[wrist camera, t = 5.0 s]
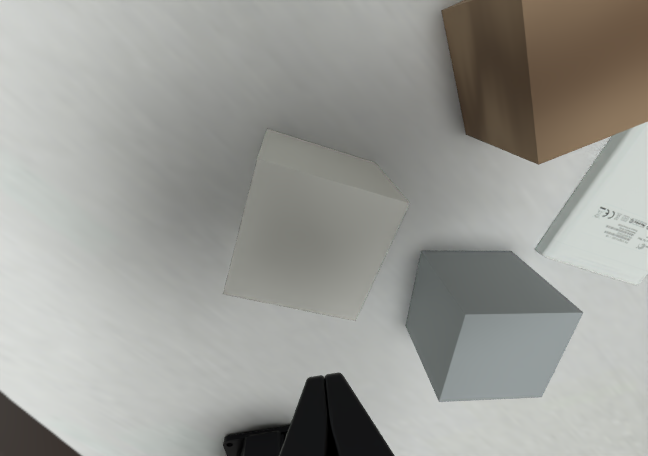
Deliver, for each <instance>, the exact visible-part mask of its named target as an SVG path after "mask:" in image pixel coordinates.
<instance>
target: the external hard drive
mask: <svg viewBox="0 0 648 456" xmlns="http://www.w3.org/2000/svg"><path fill="white" fill-rule="evenodd" d="M535 250H536V251H537V252H538V253H539V254H541V255H542V256H544V257H546V258H549V259H552V260H555V261H559V262H562V263H565V264H569V265H572V266H575V267H578V268H582V269H585V270H588V271H591V272H594V273H598V274H601V275H604V276H607V277H611V278H614V279H617V280H620V281H624V282H627V283H630V284H633V285H639V284H640V283H641V282H642V281H643V279H644V278H645V277H646V276H647V275H648V122H645V123H643V124H640V125H638V126H635V127H633V128H630V129H628V130H625V131H623V132H620V133H617V134H615V135H613V136H612V137H611V138H610V140H609V141H608V143H607V144H606V146H605V147H604V149H603V150H602V152H601V153H600V155H599V156H598V157H597V159H596V160H595V162H594V163H593V165H592V166H591V168H590V169H589V171H588V172H587V174H586V175H585V176H584V178H583V179H582V181H581V182H580V184H579V185H578V187H577V188H576V190H575V191H574V193H573V194H572V195H571V197H570V198H569V200H568V201H567V203H566V204H565V206H564V207H563V209H562V210H561V212H560V213H559V215H558V216H557V217H556V219H555V220H554V222H553V223H552V225H551V226H550V228H549V229H548V231H547V232H546V234H545V235H544V236H543V238H542V239H541V241H540V242H539V244H538V245H537V247H536V248H535Z"/></svg>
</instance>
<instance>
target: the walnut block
mask: <svg viewBox="0 0 648 456" xmlns="http://www.w3.org/2000/svg"><path fill="white" fill-rule="evenodd" d="M441 11H442V16H443V21H444V26H445V31H446V36H447V41H448V46H449V51H450V56H451V61H452V66H453V71H454V76H455V81H456V86H457V91H458V97H459V102H460V107H461V112H462V117H463V122H464V127H465V132H466V135H469V136H471V137H474V138H476V139H478V140H481V141H483V142H486V143H488V144H490V145H493V146H495V147H498V148H500V149H502V150H505V151H507V152H510V153H512V154H514V155H517V156H519V157H522V158H524V159H526V160H529V161H531V162H534V163H536V164H538V165H539V164H541V163H544V162H546V161H549V160H551V159H554V158H556V157H559V156H562V155H564V154H567V153H569V152H572V151H574V150H577V149H579V148H582V147H584V146H587V145H590V144H592V143H595V142H597V141H600V140H602V139H605V138H607V137H610V136H612V135H615V134H617V133H620V132H623V131H625V130H628V129H630V128H633V127H635V126H638V125H640V124H643V123H645V122H648V0H464V1H462V2H459V3H457V4H455V5H453V6H450V7H448V8H446V9H444V10H441Z"/></svg>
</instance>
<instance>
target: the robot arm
mask: <svg viewBox="0 0 648 456" xmlns="http://www.w3.org/2000/svg"><path fill="white" fill-rule="evenodd" d="M223 446H224V449H225V451H226V454H227V456H394V454H393V453H392V451H391V449H390V448H389V446H388V445H387V443H386V442H385V440H384V439H383V437H382V435H381V434H380V432H379V431H378V429H377V428H376V426H375V424H374V423H373V421H372V420H371V418H370V417H369V415H368V414H367V412H366V410H365V409H364V407H363V406H362V404H361V403H360V401H359V400H358V398H357V396H356V395H355V393H354V392H353V390H352V389H351V387H350V386H349V384H348V382H347V381H346V379H345V378H344V376H343V375H342V374H341V373H333V374H327V375H326V376H325V378H324V376H322V375H320V376H314V377H309V378H308V379H307V380H306V383H305V386H304V388H303V391H302V394H301V397H300V399H299V402H298V405H297V408H296V410H295V413H294V416H293V419H292V422H291V424H290V426H286V427H280V428H274V429H268V430H262V431H255V432H249V433H243V434H237V435H231V436H227V437H225V438H224V442H223Z"/></svg>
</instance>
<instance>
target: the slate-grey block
mask: <svg viewBox="0 0 648 456" xmlns="http://www.w3.org/2000/svg"><path fill="white" fill-rule="evenodd" d="M582 314H583V312H582V311H581V310H580V309H579V308H577V307H576V306H575V305H574V304H573V303H572V302H570V301H569V300H568V299H567V298H566V297H565V296H563V295H562V294H561V293H560V292H559V291H557V290H556V289H555V288H554V287H553V286H552V285H550V284H549V283H548V282H547V281H546V280H545V279H543V278H542V277H541V276H540V275H539V274H538V273H536V272H535V271H534V270H533V269H532V268H531V267H529V266H528V265H527V264H526V263H525V262H524V261H522V260H521V259H520V258H519V257H518V256H517V255H515V254H514V253H513V252H512V251H421V255H420V260H419V264H418V269H417V274H416V279H415V284H414V288H413V293H412V298H411V303H410V307H409V312H408V317H407V322H406V328H407V330H408V332H409V334H410V337H411V339H412V341H413V344H414V346H415V348H416V350H417V353H418V355H419V357H420V359H421V362H422V364H423V366H424V369H425V371H426V373H427V375H428V378H429V380H430V382H431V384H432V387H433V389H434V391H435V394H436V396H437V398H438V400H439V402H446V401H469V400H491V399H513V398H535V397H542V395H543V393H544V391H545V389H546V387H547V385H548V383H549V381H550V379H551V377H552V375H553V373H554V371H555V369H556V367H557V365H558V363H559V361H560V359H561V357H562V355H563V353H564V351H565V349H566V347H567V345H568V343H569V341H570V339H571V337H572V335H573V333H574V330H575V328H576V326H577V324H578V322H579V320H580V318H581V316H582Z"/></svg>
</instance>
